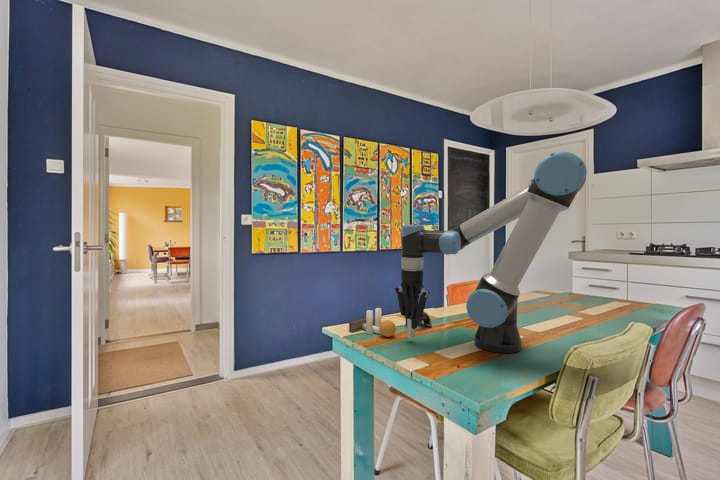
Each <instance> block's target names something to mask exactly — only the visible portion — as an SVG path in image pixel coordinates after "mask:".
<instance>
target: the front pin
mask: <svg viewBox="0 0 720 480" xmlns="http://www.w3.org/2000/svg"><path fill="white" fill-rule="evenodd" d="M362 329H363V331H366V324H365V323H364V324H363V325H362ZM373 333H374V334H377V335H382V334H381V333H380V330H379V327H376V326H373Z"/></svg>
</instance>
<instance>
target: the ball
mask: <svg viewBox="0 0 720 480" xmlns="http://www.w3.org/2000/svg"><path fill="white" fill-rule="evenodd" d="M379 330H380V333H381V334H380V335H382V336H383V337H386V338H388V337H389V338H391V337H393V336H394V335H395V333H396V331H397V326H396V323H395V322H393V321H392V320H389V319H385V320H383V321H381V324H380V327H379Z"/></svg>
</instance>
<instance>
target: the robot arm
mask: <svg viewBox="0 0 720 480" xmlns="http://www.w3.org/2000/svg"><path fill="white" fill-rule="evenodd" d="M533 176H534V177H533V178H532V179H531V180H530V181H529V183H528V185H527V186H525V187H523V188H522V189H520V190H518V191H516V192H514V193H513V194H511V195H510V196H508V197H506V198H504V199H502V200H501V201H499V202H498V203H495V204H494V205H493V206H490V207H488V208H487V209H485V210H483V211H482V212H480V213H478V214H477V215H475V216H473V217H471V218H470V219H467V220H466V221H464V222H463V223H460V224H459V225H457V226H456V227H454V228H451V229H449V230H425V226H424V225H423V224H404V225H402V230H401V256H400V257H401V258H400V259H401V260H400V261H401V263H400V267H401V271H400V279H401V283H400V285H399V286H397V287H395V288H394V291H395V292H396V295H397V299H398V300H397V301H398V306H399V311H400V315H401V316H403V317H404V318H405V328H406V338H408V339H413V338H416V329H417V328H418V324H417V319H418V318H421V317H422V316H423V312H425V306H426V303H427V300H428V297H429V296H430V291H429V290H426V289H425V288H424V284H423V281H424V270H423V269H424V259H425V257H424V254H428V253H429V254H438V255H439V254H440V255H446V256H447V255H448V256H449V255H457V254H458V253H459V251H461V250H463V249H464V248H465V247H467V246H469V245H470V244H472V243H475V242H476V241H478V240H480V239H482V238H484V237H486V236H487V235H489V234H492V232H493V233H494V231H496V230H499V229H500V228H502V227H504V226H506V225H508V224H510V223H511V222H513V221H516V220H517V219H518V220H517V221H516V223H515V225H514V227H513V229H512V231H511V233H510V234H509V236H508V239H507V240H506V242H505V244H504V246H503V247H502V249H501V252H500V254H499V256H498V257H497V259H496V261H495V263H494V265H493V267H492V268H491V270H490V272H487V273H484V274H483V275H482V276H481V278H480V280H479V282H478V283H477V286H476V287H475V289H474V291H472V292H471V293H470V294H469V296H468V297H467V299H466V307H465V308H466V312H467V314H468V316H469V318H470V320H471V321H473V323H475V324H476V325H478V326H477V329H476V331H475V334H474V337H473V339H474V340H473V343H474V346H476V347H477V348H479V349H481V350H485V351H487V352H491V353H498V354H514V353H515V354H516V353H519V352H521V351H522V350H523V348H522V347H523V341H522V338H521V335H520V332H519V327H518V301H519V300H518V298H519V297H520V295H521V292H520V289H519V285H520V284H521V282H522V280H523V278H524V276H525V274H526V273H527V270H528V269H529V267H530V265H531V264H532V262H533V261H534V258H535V256H536V254H537V253H538V252H539V250H540V248H541V246H542V244H543V242H544V241H545V239H546V237H547V235H548V234H549V231H550V230H551V228H552V226H553V225H554V223H555V221H556V219H557V217H558V216H559V214H560V213H561V212H565V211H566V210H567V211H568V210H569V208H570V206H571V205H572V203H573V202H574V199H575V198H576V196H577V194H578V192H580V191H581V190H582V188H583V187H584V185H585V184H586V180H587V167H586V164H585V162H584V161H583V159H582V158H581V157H579V156H578V155H576V154H574V153H572V152H570V151H564V150H563V151H556V152H555V151H554V152H552V153H550V154H547V155H546V156H545V157H543V158H541V160H540V161H539V162H538V164H537V166H536V168H535V171H534V175H533Z"/></svg>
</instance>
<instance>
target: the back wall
mask: <svg viewBox="0 0 720 480" xmlns="http://www.w3.org/2000/svg"><path fill="white" fill-rule="evenodd" d="M364 323H365V324H366V317H363V318H360V319H356V320H353V321H349V322H348V332H349V333H356V332H360V331H362V330H363V329H362V325H363V324H364ZM373 326H375V316H373ZM363 331H364V330H363Z"/></svg>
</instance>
